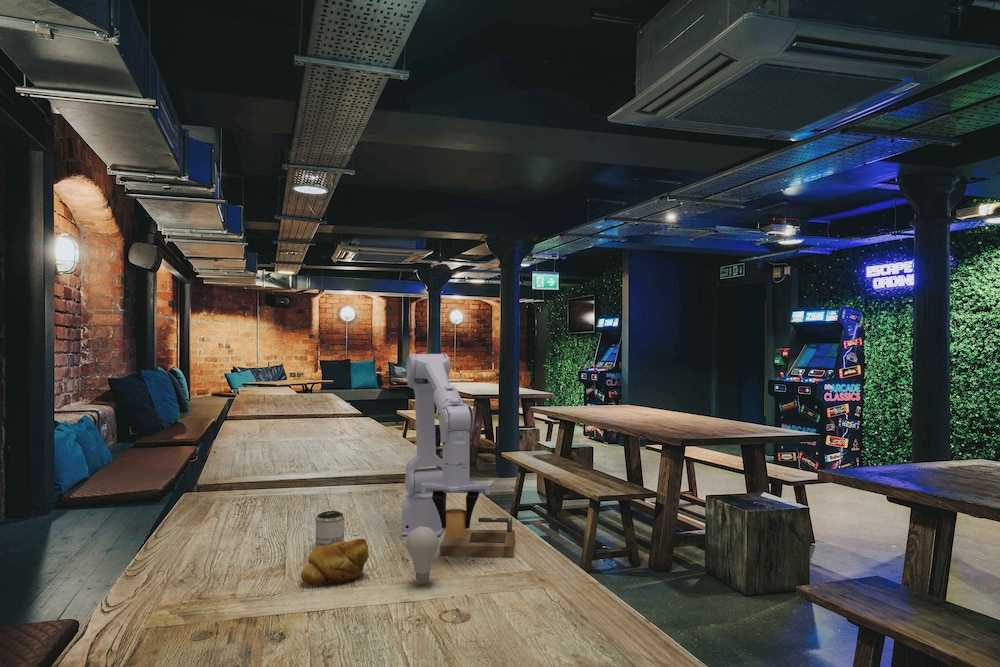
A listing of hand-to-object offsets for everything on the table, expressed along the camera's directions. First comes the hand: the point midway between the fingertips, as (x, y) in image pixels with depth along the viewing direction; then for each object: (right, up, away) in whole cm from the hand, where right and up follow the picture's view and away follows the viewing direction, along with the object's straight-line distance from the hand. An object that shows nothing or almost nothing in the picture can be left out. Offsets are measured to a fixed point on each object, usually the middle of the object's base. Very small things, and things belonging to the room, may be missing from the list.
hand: (455, 527), depth 131 cm
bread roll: (-24, -8, -9) cm, 26 cm away
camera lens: (-29, -8, +10) cm, 32 cm away
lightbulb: (-5, -8, -12) cm, 15 cm away
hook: (+8, -8, +14) cm, 18 cm away
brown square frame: (+5, -8, +10) cm, 13 cm away
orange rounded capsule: (0, -2, 0) cm, 2 cm away
